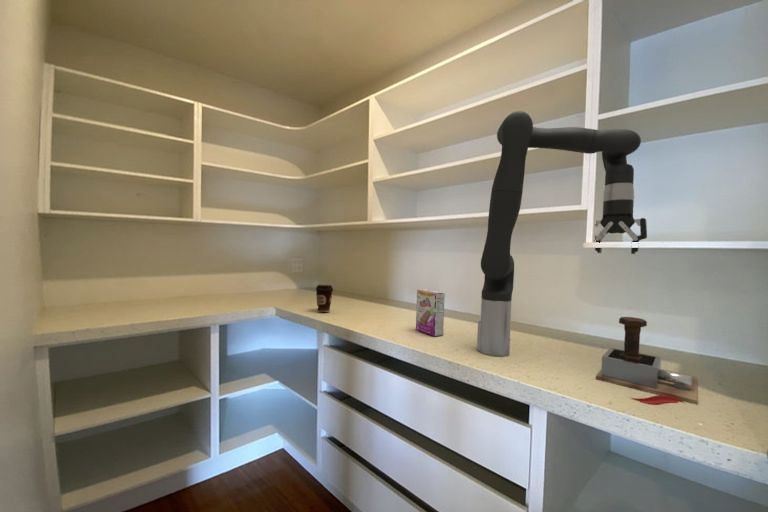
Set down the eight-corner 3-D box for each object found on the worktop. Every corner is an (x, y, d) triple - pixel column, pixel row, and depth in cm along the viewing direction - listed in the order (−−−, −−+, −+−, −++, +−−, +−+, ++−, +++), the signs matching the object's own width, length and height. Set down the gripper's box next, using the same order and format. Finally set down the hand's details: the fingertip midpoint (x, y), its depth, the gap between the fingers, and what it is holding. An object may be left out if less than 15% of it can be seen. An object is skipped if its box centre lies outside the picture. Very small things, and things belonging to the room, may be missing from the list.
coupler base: (595, 379, 85) (595, 375, 84) (610, 361, 99) (610, 358, 99) (697, 405, 71) (697, 400, 71) (696, 380, 86) (696, 376, 86)
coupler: (601, 375, 85) (602, 356, 84) (613, 360, 98) (614, 343, 97) (691, 397, 73) (692, 375, 73) (691, 376, 86) (692, 357, 86)
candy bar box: (414, 330, 130) (416, 289, 130) (424, 329, 133) (425, 289, 133) (434, 337, 121) (435, 293, 121) (443, 335, 124) (445, 292, 124)
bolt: (641, 374, 86) (644, 318, 86) (646, 381, 82) (649, 321, 81) (615, 370, 89) (617, 315, 88) (618, 376, 84) (621, 319, 84)
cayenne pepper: (632, 404, 72) (632, 395, 72) (623, 395, 77) (623, 387, 76) (698, 413, 69) (699, 404, 69) (685, 403, 73) (686, 395, 73)
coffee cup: (323, 313, 158) (324, 286, 158) (311, 311, 163) (312, 285, 163) (335, 310, 166) (336, 285, 165) (323, 308, 170) (324, 283, 170)
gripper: (588, 200, 101) (585, 252, 101) (646, 196, 91) (643, 254, 91) (593, 203, 106) (591, 252, 107) (649, 199, 96) (647, 254, 97)
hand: (615, 253), depth 99 cm, fingers open, 8 cm apart
